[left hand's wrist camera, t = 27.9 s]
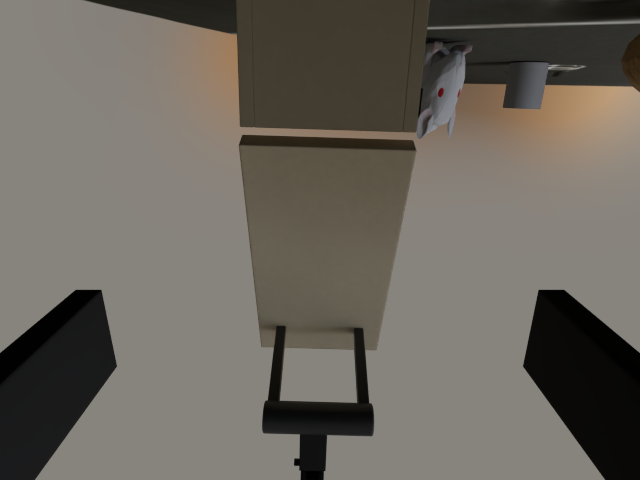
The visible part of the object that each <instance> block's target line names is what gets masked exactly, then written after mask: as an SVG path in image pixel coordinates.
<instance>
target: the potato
mask: <svg viewBox="0 0 640 480" xmlns="http://www.w3.org/2000/svg"><path fill="white" fill-rule="evenodd" d="M621 63H622V67H623V72H624V74H625V75H626V77H627V78H628V80H629V82H630V84H631V85H632V86H633V87H634V88H635V89H637V90H638V91H639V92H640V34H639V35H638V36H637V37H635V38H634V39H633V40H632V41H631V42H630V43H629V44H628V46H627V48H626V51H625V53H624V55H623V57H622V60H621Z"/></svg>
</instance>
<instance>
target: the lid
mask: <svg viewBox="0 0 640 480" xmlns="http://www.w3.org/2000/svg"><path fill="white" fill-rule="evenodd" d="M239 151H240V160H241V169H242V177H243V187H244V195H245V204H246V213H247V222H248V231H249V240H250V249H251V258H252V267H253V276H254V285H255V294H256V303H257V311H258V320H259V330H260V338H261V346H262V347H274V352H273V361H272V369H271V379H270V387H269V395H268V401H265V403H264V409H263V420H262V430H263V433H271V434H308V435H345V436H372V435H373V432H374V411H373V406H372V404H371V403H369V395H368V382H367V369H366V356H365V350H377V345H378V340H379V335H380V330H381V325H382V320H383V315H384V310H385V305H386V300H387V295H388V290H389V285H390V280H391V275H392V270H393V265H394V260H395V255H396V250H397V245H398V240H399V235H400V230H401V225H402V220H403V215H404V210H405V205H406V200H407V195H408V190H409V185H410V180H411V175H412V170H413V165H414V160H415V155H416V148H415V145H414V142H413V141H412V140H387V139H356V138H324V137H292V136H261V135H242V138H241V141H240V144H239ZM284 348H312V349H348V350H354V353H355V371H356V389H357V403H338V402H303V401H280V391H281V380H282V370H283V359H284Z"/></svg>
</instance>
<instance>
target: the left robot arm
mask: <svg viewBox="0 0 640 480" xmlns="http://www.w3.org/2000/svg"><path fill="white" fill-rule="evenodd" d="M116 367H117V365H116V360H115V355H114V350H113V345H112V340H111V335H110V330H109V325H108V320H107V316H106V310H105V305H104V301H103V296H102V291H101V290H75V291H74V292H73V293H72V294H70V295H69V296H68V297H67V298H66V299H64V300H63V301H62V302H61V303H60V304H58V305H57V306H56V307H55V308H54V309H52V310H51V311H50V312H49V313H48V314H46V315H45V316H44V317H43V318H42V319H40V320H39V321H38V322H37V323H36V324H34V325H33V326H32V327H31V328H30V329H28V330H27V331H26V332H25V333H24V334H22V335H21V336H20V337H19V338H18V339H16V340H15V341H14V342H13V343H12V344H10V345H9V346H8V347H7V348H6V349H4V350H3V351H2V352H1V353H0V480H35V479H36V477H37V476H38V475H39V473H40V472H41V470H42V469H43V468H44V466H45V465H46V464H47V462H48V461H49V459H50V458H51V457H52V455H53V454H54V453H55V451H56V450H57V448H58V447H59V446H60V444H61V443H62V441H63V440H64V439H65V437H66V436H67V435H68V433H69V432H70V430H71V429H72V428H73V426H74V425H75V423H76V422H77V421H78V419H79V418H80V417H81V415H82V414H83V412H84V411H85V410H86V408H87V407H88V406H89V404H90V403H91V401H92V400H93V399H94V397H95V396H96V395H97V393H98V392H99V390H100V389H101V388H102V386H103V385H104V383H105V382H106V381H107V379H108V378H109V377H110V375H111V374H112V372H113V371H114V370H115V368H116ZM523 367H524V368H525V370H526V371H527V372H528V374H529V375H530V377H531V378H532V379H533V381H534V382H535V383H536V385H537V386H538V388H539V389H540V390H541V392H542V393H543V395H544V396H545V397H546V399H547V400H548V401H549V403H550V404H551V406H552V407H553V408H554V410H555V411H556V412H557V414H558V415H559V417H560V418H561V419H562V421H563V422H564V424H565V425H566V426H567V428H568V429H569V430H570V432H571V433H572V434H573V436H574V437H575V439H576V440H577V441H578V443H579V444H580V446H581V447H582V448H583V450H584V451H585V452H586V454H587V455H588V457H589V458H590V459H591V461H592V462H593V464H594V465H595V466H596V468H597V469H598V470H599V472H600V473H601V475H602V476H603V477H604V479H605V480H640V353H639V352H638V351H637V350H636V349H634V348H633V347H632V346H631V345H630V344H628V343H627V342H626V341H625V340H624V339H622V338H621V337H620V336H619V335H618V334H616V333H615V332H614V331H613V330H612V329H610V328H609V327H608V326H607V325H606V324H604V323H603V322H602V321H601V320H600V319H598V318H597V317H596V316H595V315H594V314H592V313H591V312H590V311H589V310H588V309H586V308H585V307H584V306H583V305H582V304H580V303H579V302H578V301H577V300H576V299H574V298H573V297H572V296H571V295H570V294H568V293H567V292H566V291H565V290H539V291H538V296H537V301H536V306H535V310H534V315H533V320H532V325H531V330H530V335H529V340H528V345H527V350H526V355H525V359H524V364H523Z"/></svg>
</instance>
